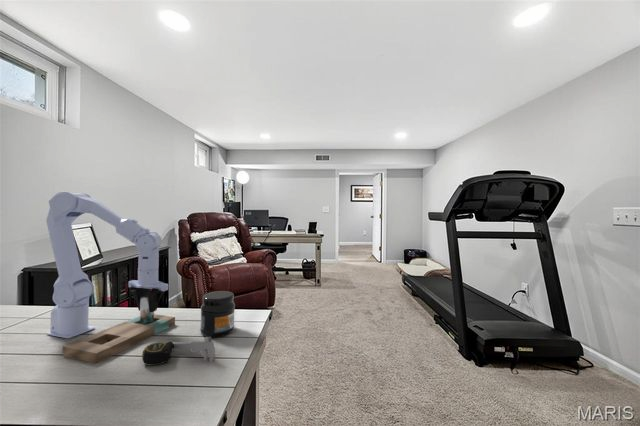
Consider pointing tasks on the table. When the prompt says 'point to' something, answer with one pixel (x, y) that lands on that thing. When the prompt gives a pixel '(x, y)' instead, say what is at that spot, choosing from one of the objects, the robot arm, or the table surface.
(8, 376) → the table surface
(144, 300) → the metal pin
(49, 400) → the table surface
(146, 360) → the tape measure
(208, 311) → the supplement container
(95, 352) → the board
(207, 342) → the caliper
